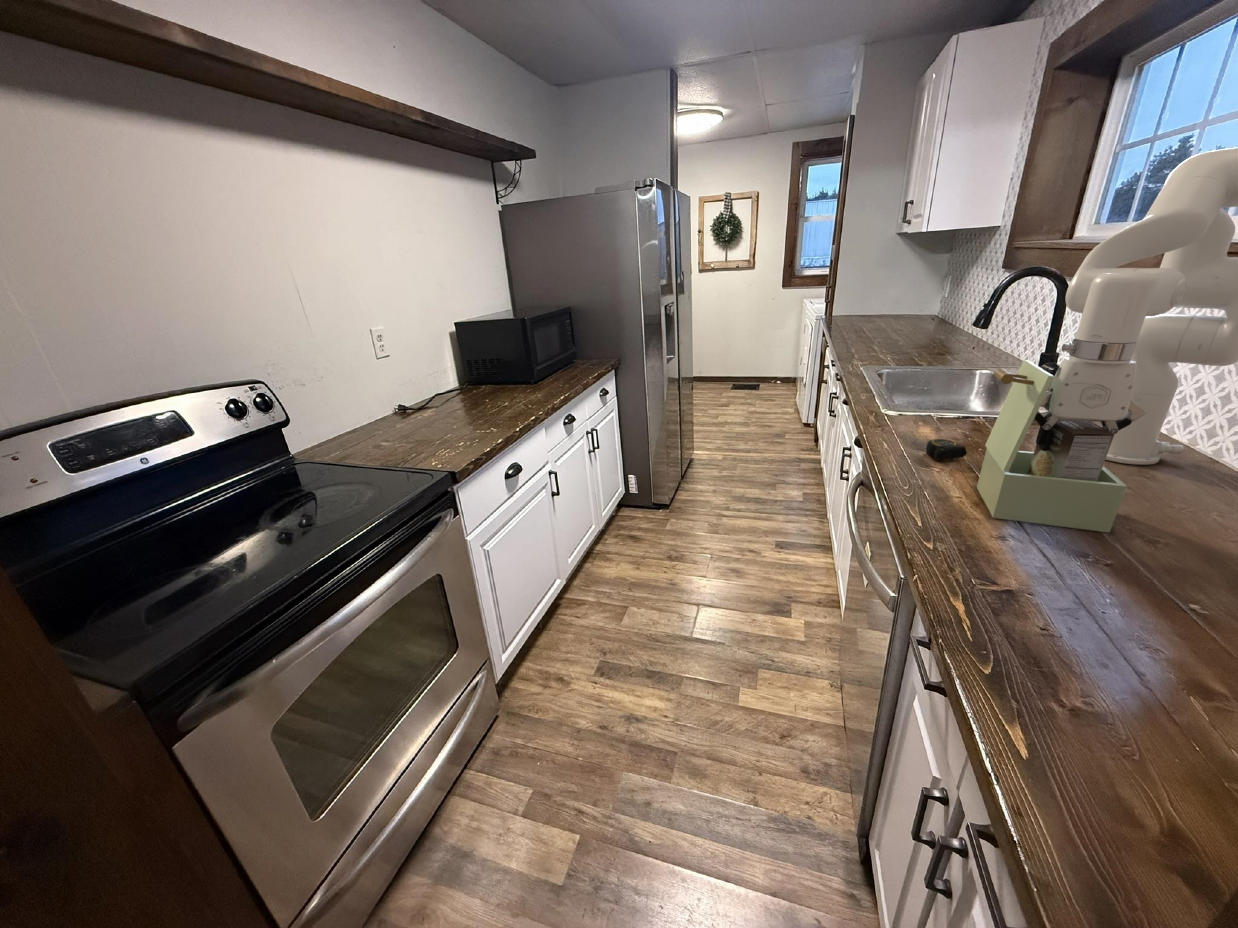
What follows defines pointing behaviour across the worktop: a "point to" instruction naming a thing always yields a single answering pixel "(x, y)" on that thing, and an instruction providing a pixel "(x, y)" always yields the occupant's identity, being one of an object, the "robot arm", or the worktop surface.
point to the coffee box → (1073, 451)
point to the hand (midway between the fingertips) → (1069, 450)
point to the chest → (1049, 496)
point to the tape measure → (945, 449)
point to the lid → (1017, 411)
